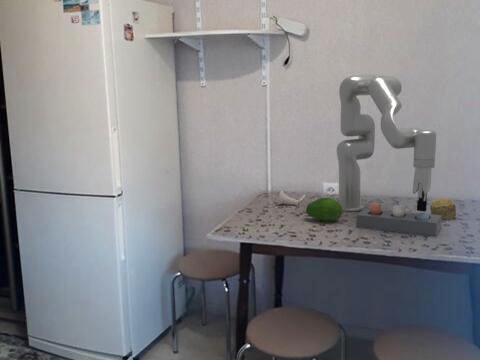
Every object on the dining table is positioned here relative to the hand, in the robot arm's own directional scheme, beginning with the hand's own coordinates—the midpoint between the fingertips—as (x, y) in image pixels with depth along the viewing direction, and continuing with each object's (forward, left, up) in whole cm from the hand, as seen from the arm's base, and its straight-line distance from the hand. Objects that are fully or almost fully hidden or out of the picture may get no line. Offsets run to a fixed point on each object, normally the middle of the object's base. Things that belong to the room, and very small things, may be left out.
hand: (421, 210), depth 187 cm
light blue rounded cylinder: (+1, 0, -6) cm, 6 cm away
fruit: (-38, -2, -8) cm, 39 cm away
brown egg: (-17, 0, -4) cm, 18 cm away
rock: (+5, +22, -8) cm, 24 cm away
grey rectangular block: (-8, 0, -8) cm, 11 cm away
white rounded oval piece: (-8, 0, -4) cm, 9 cm away
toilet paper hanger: (-66, +25, -8) cm, 71 cm away
